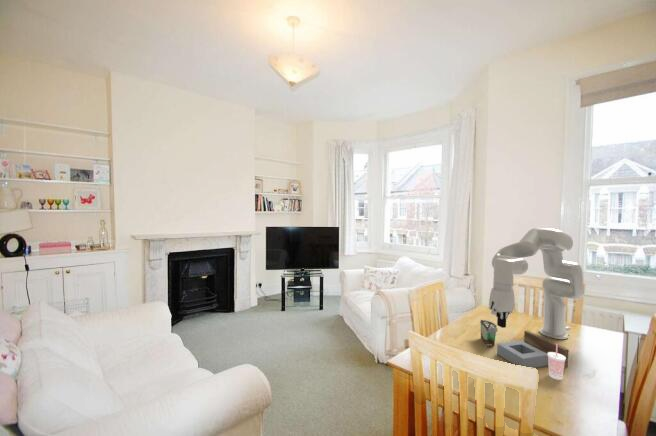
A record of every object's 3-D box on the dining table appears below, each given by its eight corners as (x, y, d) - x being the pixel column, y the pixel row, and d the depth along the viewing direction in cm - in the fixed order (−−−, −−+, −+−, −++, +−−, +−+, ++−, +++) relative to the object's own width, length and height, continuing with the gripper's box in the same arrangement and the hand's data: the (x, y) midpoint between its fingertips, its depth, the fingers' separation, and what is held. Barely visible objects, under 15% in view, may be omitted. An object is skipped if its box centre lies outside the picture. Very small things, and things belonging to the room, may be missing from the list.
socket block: (520, 350, 144) (520, 340, 144) (548, 365, 130) (548, 354, 130) (497, 353, 140) (497, 343, 140) (522, 369, 127) (523, 358, 127)
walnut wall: (527, 346, 149) (527, 330, 148) (567, 367, 129) (568, 349, 129) (523, 346, 148) (524, 331, 148) (564, 367, 129) (565, 350, 128)
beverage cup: (568, 381, 119) (569, 348, 118) (551, 380, 120) (553, 346, 119) (559, 373, 125) (560, 341, 124) (543, 371, 126) (544, 339, 125)
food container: (501, 349, 145) (501, 329, 144) (487, 348, 146) (488, 328, 146) (492, 338, 157) (492, 320, 156) (479, 337, 158) (480, 319, 158)
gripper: (509, 283, 136) (508, 321, 137) (482, 284, 133) (481, 324, 133) (523, 287, 129) (522, 328, 130) (495, 289, 125) (494, 331, 126)
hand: (501, 326), depth 132 cm, fingers closed
